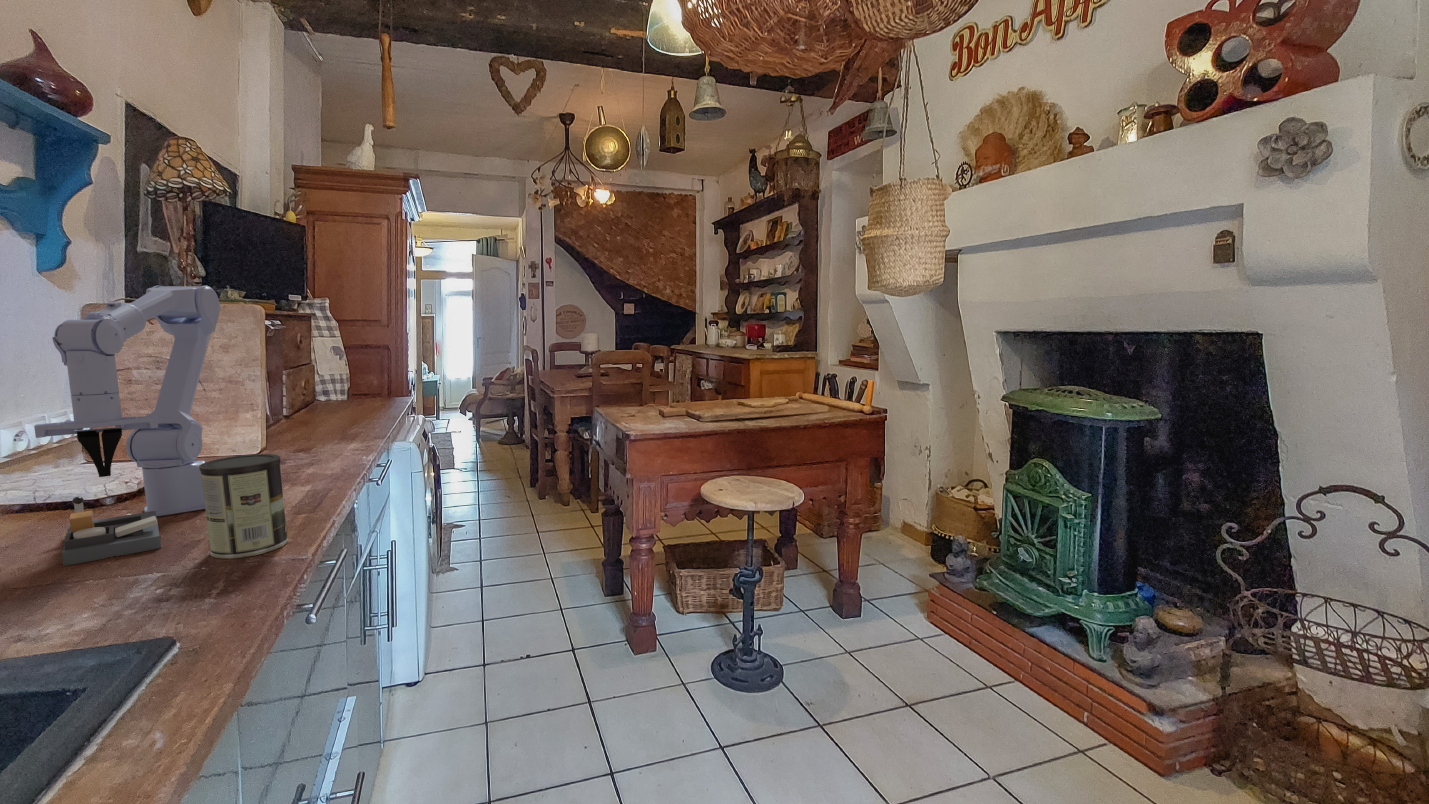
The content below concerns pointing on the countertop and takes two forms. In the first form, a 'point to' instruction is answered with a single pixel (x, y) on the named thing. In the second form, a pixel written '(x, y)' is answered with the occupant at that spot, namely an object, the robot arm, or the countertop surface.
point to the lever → (78, 504)
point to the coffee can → (244, 505)
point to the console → (111, 540)
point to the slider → (81, 521)
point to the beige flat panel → (136, 526)
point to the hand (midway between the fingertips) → (105, 475)
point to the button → (89, 532)
